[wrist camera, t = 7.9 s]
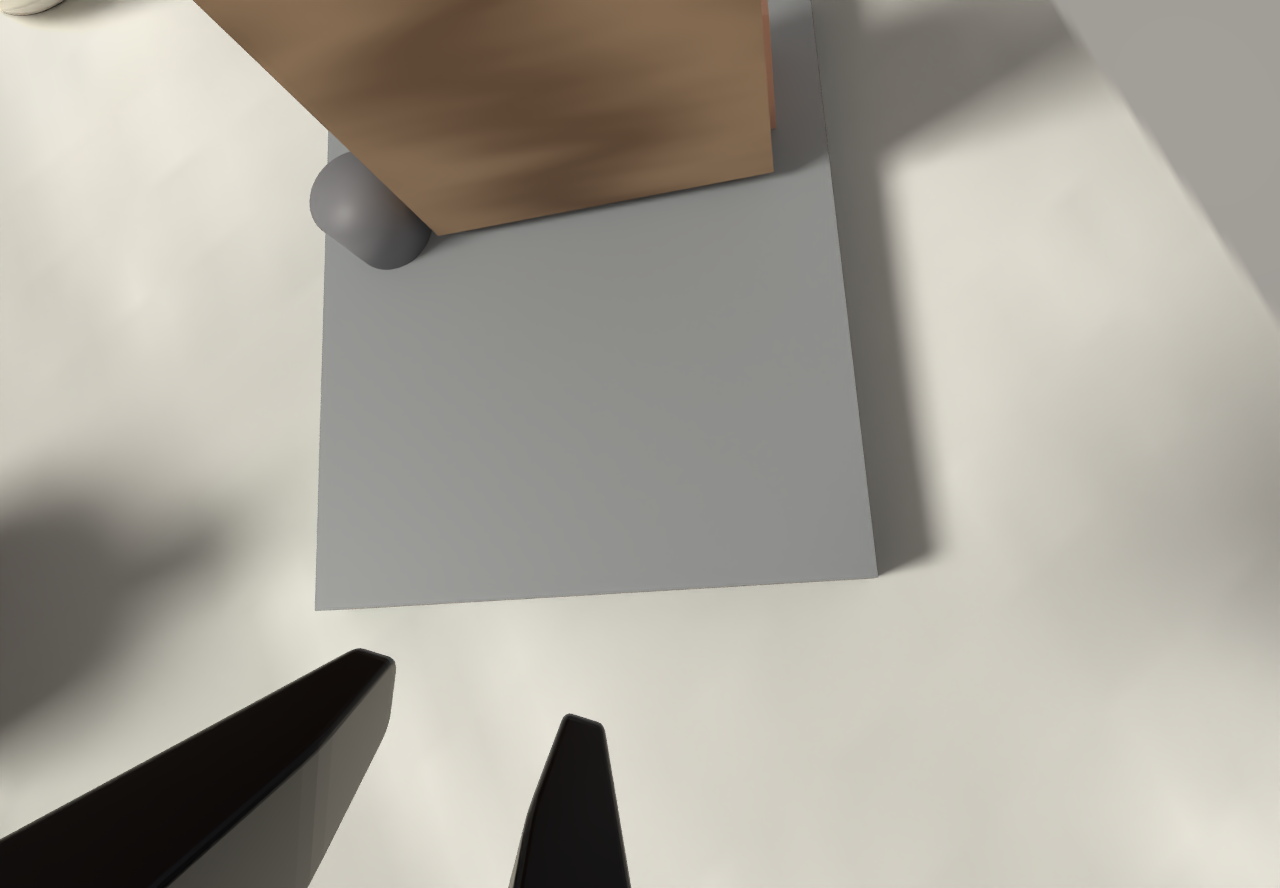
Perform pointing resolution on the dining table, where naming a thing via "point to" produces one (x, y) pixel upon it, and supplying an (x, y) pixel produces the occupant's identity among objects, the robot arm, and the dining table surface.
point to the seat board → (594, 384)
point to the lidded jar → (26, 6)
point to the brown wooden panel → (522, 96)
